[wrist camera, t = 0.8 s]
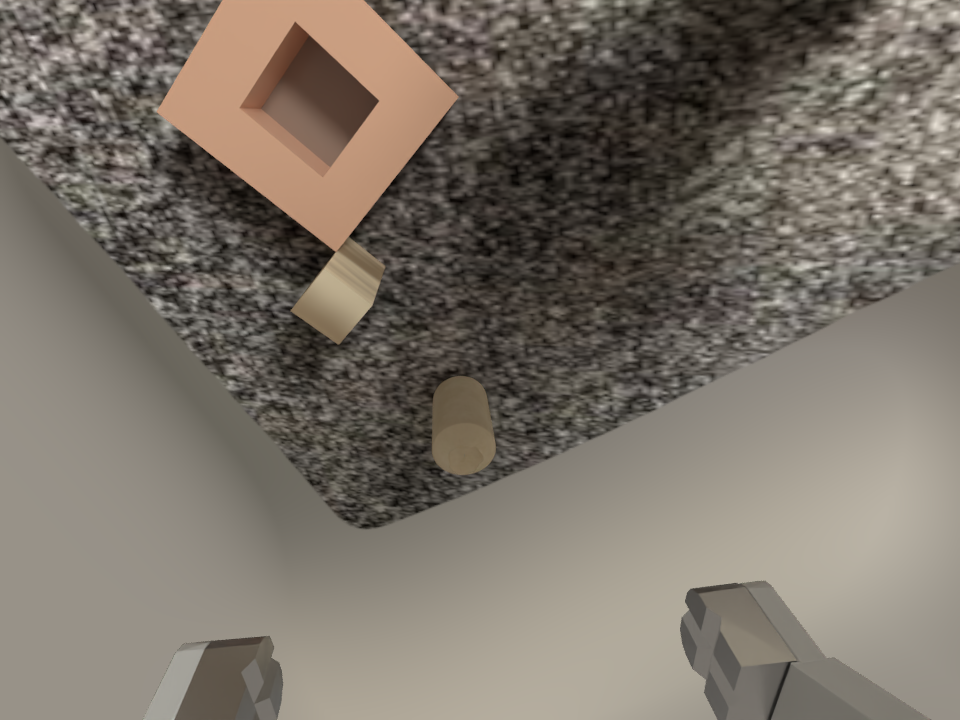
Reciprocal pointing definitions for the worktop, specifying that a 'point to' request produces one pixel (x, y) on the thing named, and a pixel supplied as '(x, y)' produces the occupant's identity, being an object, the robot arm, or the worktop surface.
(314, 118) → the well block
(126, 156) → the worktop surface
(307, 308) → the peg
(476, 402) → the candle
